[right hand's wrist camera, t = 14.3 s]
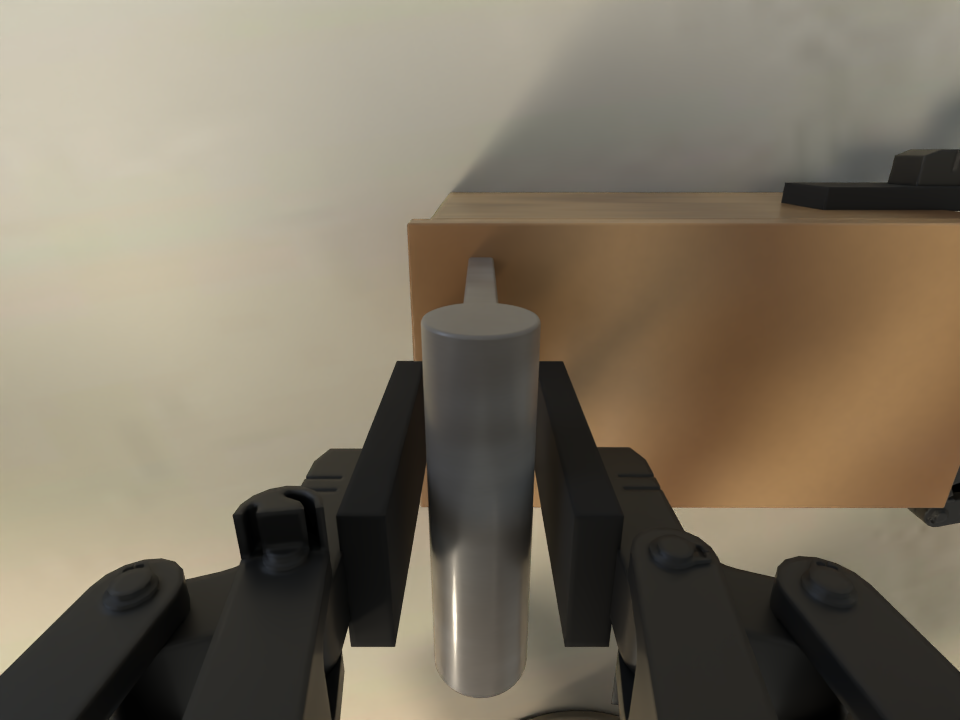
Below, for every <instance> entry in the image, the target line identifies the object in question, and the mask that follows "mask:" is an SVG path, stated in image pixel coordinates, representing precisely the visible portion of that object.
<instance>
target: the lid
mask: <svg viewBox="0 0 960 720" xmlns="http://www.w3.org/2000/svg"><path fill="white" fill-rule="evenodd" d="M407 232H408V253H409V274H410V295H411V316H412V337H413V358H414V361H422V364H423V388H424V412H425V436H426V460H427V463H426V469H425V475H424V480H423V486H422V492H421V498H420V504H421V507H428V508H429V532H430V556H431V580H432V604H433V628H434V652H435V664H436V668H437V670H438V673H439V675H440V676H441V678H442V679H443V681H444V682H445V683H446V684H447V685H448V686H449V687H450V688H452V689H453V690H455V691H456V692H458V693H460V694H463V695H466V696H469V697H475V698H487V697H492V696H496V695H499V694H501V693H503V692H505V691H507V690H508V689H510V688H511V687H512V686H513V685H514V684H515V683H516V682H517V681H518V680H519V678H520V677H521V675H522V673H523V671H524V669H525V665H526V659H527V636H528V613H529V589H530V566H531V542H532V519H533V507H541V504H540V498H539V492H538V486H537V481H536V475H535V448H536V425H537V401H538V378H539V361H563V362H564V365H565V367H566V370H567V372H568V375H569V377H570V380H571V382H572V385H573V388H574V390H575V393H576V395H577V398H578V400H579V403H580V405H581V408H582V410H583V413H584V415H585V418H586V420H587V423H588V426H589V428H590V431H591V433H592V436H593V438H594V441H595V443H596V446H597V447H630V448H632V449H633V450H634V451H635V452H637V453H638V454H639V455H641V456H642V457H643V458H644V459H646V461H647V463H648V464H649V466H650V468H651V470H652V472H653V474H654V477H656V479H657V481H658V483H659V485H660V489H661V490H663V492H664V494H665V496H666V498H667V500H668V502H669V504H670V505H671V507H704V508H943V507H944V506H945V504H946V501H947V498H948V496H949V493H950V490H951V488H952V485H953V482H954V480H955V477H956V474H957V471H958V469H959V466H960V219H412V220H411V221H410V222H409V223H408V225H407Z"/></svg>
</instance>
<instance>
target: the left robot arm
mask: <svg viewBox="0 0 960 720" xmlns="http://www.w3.org/2000/svg"><path fill="white" fill-rule="evenodd" d="M781 203H785V204H791V205H797V206H802V207H808V208H814V209H820V210H949V211H960V150H908V151H906V152H903V153H900V154H898V155H895V158H894V161H893V165H892V169H891V173H890V177H889V180H888V183H785V186H784V191H783V196H782V201H781ZM908 509H909V510H910V511H911V512H913V513H914V514H915V515H916V516H917V517H919V518H920V519H921V520H922V521H923V522H925V523H926V524H927V525H928V526H931V527H939V526H945V525H950V524H955V523H960V466H959V469H958V471H957V474H956V477H955V480H954V482H953V485H952V488H951V490H950V493H949V496H948V498H947V501H946V504H945V506H944V507H943V508H908ZM528 720H620V717H619V716H615V715H611V714H606V713H600V712H591V711H566V712H557V713H551V714H546V715H541V716H537V717H534V718H531V719H528Z"/></svg>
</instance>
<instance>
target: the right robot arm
mask: <svg viewBox="0 0 960 720" xmlns="http://www.w3.org/2000/svg"><path fill="white" fill-rule="evenodd" d="M426 463H427V460H426V436H425V412H424V388H423V364H422V361H397V362H396V365H395V367H394V370H393V372H392V375H391V377H390V380H389V382H388V385H387V388H386V390H385V393H384V395H383V398H382V400H381V403H380V405H379V408H378V410H377V413H376V415H375V418H374V420H373V423H372V426H371V428H370V431H369V433H368V436H367V438H366V441H365V443H364V446H363V448H362V449H329V450H328V451H327V452H326V453H324V454H323V455H322V456H321V457H319V458H318V459H317V460H315V461H314V463H313V465H312V467H311V468H310V470H309V472H308V474H307V476H306V479H305V480H304V482H303V483H302V485H301V486H284V487H278V488H273V489H269V490H266V491H264V492H261V493H259V494H256V495H254V496H252V497H251V498H249V499H248V500H247V501H245V502H244V503H242V504H241V505H240V506H239V507H238V509H237V510H236V511H235V513H234V514H233V519H234V524H235V529H236V534H237V539H238V544H239V549H240V554H241V562H240V565H239V566H237V567H234V568H231V569H228V570H225V571H221V572H217V573H213V574H208V575H204V576H200V577H195V578H191V579H187V580H185V576H184V572H183V569H182V568H181V567H180V566H179V565H178V564H177V563H176V562H174V561H170V560H166V559H162V558H161V559H147V560H142V561H138V562H135V563H131V564H128V565H125V566H123V567H121V568H119V569H117V570H115V571H113V572H111V573H109V574H107V575H105V576H104V577H103V578H101V579H100V580H99V581H97V582H96V583H95V584H94V585H92V586H91V587H90V588H89V589H88V590H87V591H86V592H85V593H84V594H83V595H82V596H81V597H80V598H79V599H78V600H77V601H76V602H74V603H73V604H72V605H71V606H70V607H69V608H68V609H67V610H66V611H65V612H64V613H63V614H62V615H61V616H60V617H59V618H58V619H57V620H56V621H55V622H54V623H53V624H52V625H51V626H50V627H49V628H48V629H47V630H46V631H45V632H44V633H43V634H42V635H41V636H40V637H39V638H38V639H37V640H36V641H35V642H34V643H33V644H32V645H31V646H30V647H29V648H28V649H27V650H26V651H25V652H24V653H23V654H22V655H21V656H20V657H19V658H18V659H17V660H16V661H15V662H14V663H13V664H12V665H11V666H10V667H9V668H8V669H7V670H6V671H5V672H4V673H3V674H2V675H1V676H0V720H340V714H341V703H342V692H343V682H344V664H343V656H342V647H343V644H344V640H345V637H346V633H347V629H348V626H349V633H350V642H351V647H395V644H396V638H397V632H398V626H399V621H400V615H401V609H402V603H403V597H404V591H405V586H406V580H407V574H408V568H409V562H410V556H411V551H412V545H413V539H414V533H415V527H416V521H417V515H418V510H419V504H420V498H421V492H422V486H423V480H424V475H425V469H426ZM535 475H536V481H537V486H538V492H539V498H540V504H541V510H542V516H543V521H544V527H545V533H546V539H547V545H548V551H549V556H550V562H551V568H552V574H553V580H554V586H555V591H556V597H557V603H558V609H559V615H560V621H561V626H562V632H563V638H564V644H565V647H609V641H610V633H611V624H612V627H613V630H614V634H615V638H616V641H617V645H618V656H617V664H616V672H615V680H614V688H613V696H612V704H616V705H618V704H619V713H620V720H960V672H959V671H958V670H957V669H956V668H955V667H954V666H953V665H952V664H951V663H950V662H949V661H948V660H947V659H946V658H945V657H944V656H943V655H942V654H941V653H940V652H939V651H938V650H937V649H936V648H935V647H934V646H933V645H932V644H931V643H930V642H929V641H928V640H927V639H926V638H925V637H924V636H923V635H921V634H920V633H919V632H918V631H917V630H916V629H915V628H914V627H913V626H912V625H911V624H910V623H909V622H908V621H907V620H906V619H905V618H904V617H903V616H902V615H901V614H900V613H899V612H898V611H897V610H896V609H895V608H894V607H893V606H892V605H891V604H890V603H889V602H888V601H887V600H886V599H885V598H884V597H883V596H882V595H881V594H880V593H879V592H878V591H877V590H876V589H875V588H874V587H872V586H871V585H870V584H869V583H868V582H866V581H865V580H864V579H863V578H861V577H860V576H859V575H857V574H856V573H855V572H853V571H851V570H849V569H847V568H845V567H843V566H841V565H839V564H837V563H834V562H830V561H827V560H824V559H820V558H817V557H803V556H797V557H793V558H789V559H785V560H784V561H783V562H782V563H781V564H780V565H779V566H778V568H777V572H776V576H775V577H770V576H766V575H761V574H757V573H753V572H748V571H744V570H740V569H736V568H733V567H730V566H726V565H724V564H722V563H720V561H719V559H718V557H717V556H716V554H715V552H714V551H713V549H712V548H711V547H710V546H709V545H708V544H706V543H705V542H704V541H702V540H701V539H700V538H699V537H696V536H694V535H692V534H690V533H688V532H685V531H684V530H683V528H682V526H681V524H680V522H679V520H678V518H677V517H676V515H675V513H674V511H673V509H672V507H671V505H670V504H669V502H668V500H667V498H666V496H665V494H664V492H663V490H661V489H660V485H659V483H658V481H657V479H656V477H654V474H653V472H652V470H651V468H650V466H649V464H648V463H647V461H646V459H644V458H643V457H642V456H641V455H639V454H638V453H637V452H635V451H634V450H633V449H632V448H630V447H597V446H596V443H595V441H594V438H593V436H592V433H591V431H590V428H589V426H588V423H587V420H586V418H585V415H584V413H583V410H582V408H581V405H580V403H579V400H578V398H577V395H576V393H575V390H574V388H573V385H572V382H571V380H570V377H569V375H568V372H567V370H566V367H565V365H564V362H563V361H539V378H538V401H537V425H536V448H535Z"/></svg>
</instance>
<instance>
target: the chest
mask: <svg viewBox="0 0 960 720" xmlns="http://www.w3.org/2000/svg"><path fill="white" fill-rule="evenodd" d="M782 196H783V192H451V193H450V194H449V195H448V196H447V198H446V199H445V200H444V202H443V203H442V204H441V206H440V207H439V208H438V210H437V211H436V212H435V214H434V215H433V217H432V218H431V219H960V212H957V211H949V210H820V209H814V208H808V207H802V206H797V205H791V204H785V203H781V201H782Z"/></svg>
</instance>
